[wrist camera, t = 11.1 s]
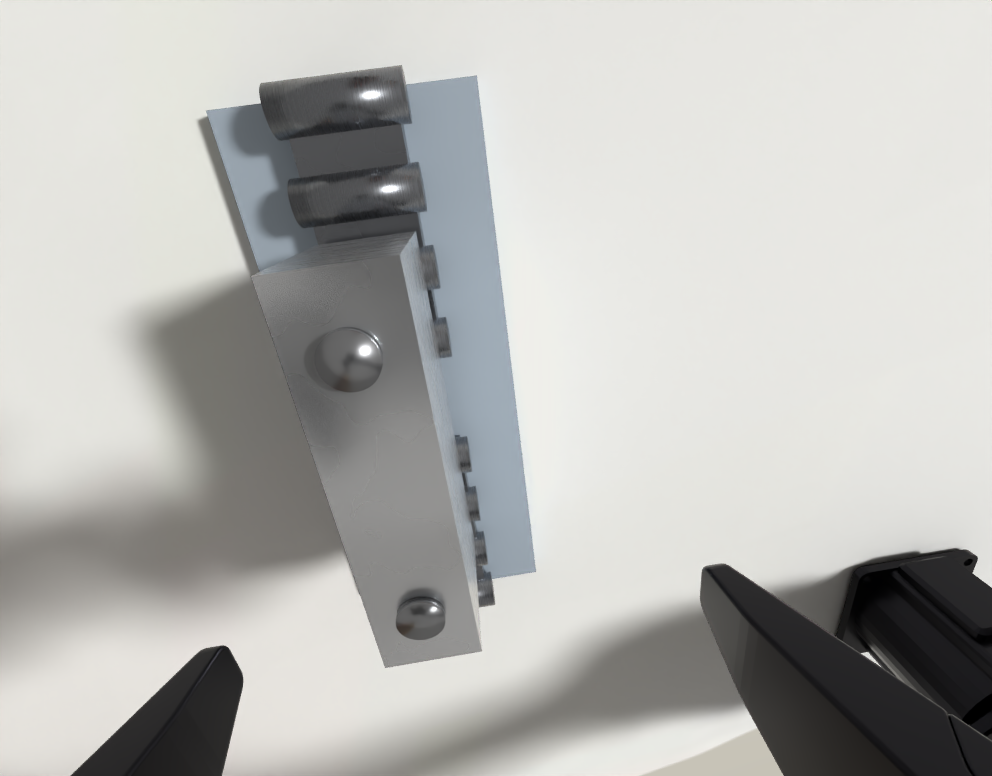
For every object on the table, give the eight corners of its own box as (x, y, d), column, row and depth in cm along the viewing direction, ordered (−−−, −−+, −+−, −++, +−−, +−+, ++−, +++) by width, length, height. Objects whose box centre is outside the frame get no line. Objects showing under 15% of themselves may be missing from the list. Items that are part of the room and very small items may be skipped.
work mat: (534, 563, 23) (535, 571, 22) (369, 591, 22) (368, 599, 22) (475, 78, 14) (476, 75, 14) (213, 113, 14) (205, 110, 14)
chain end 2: (493, 583, 22) (496, 611, 21) (413, 596, 22) (411, 626, 21) (466, 426, 19) (467, 447, 17) (371, 441, 18) (364, 463, 17)
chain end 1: (452, 347, 17) (452, 362, 16) (349, 362, 17) (340, 379, 16) (404, 72, 14) (399, 59, 12) (274, 89, 14) (253, 78, 12)
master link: (473, 538, 19) (482, 660, 14) (400, 550, 19) (383, 677, 14) (416, 231, 14) (398, 256, 9) (315, 245, 14) (244, 279, 9)
